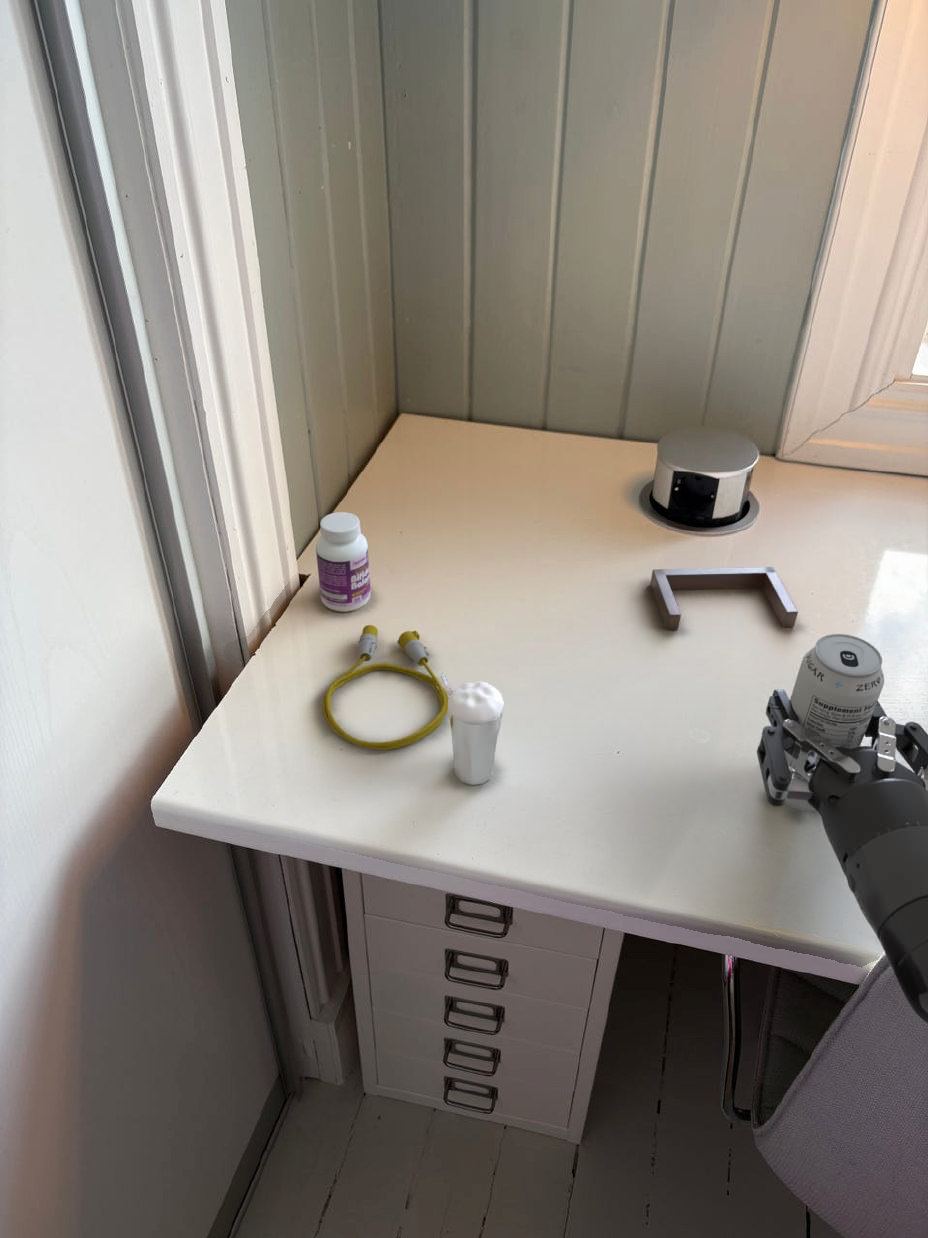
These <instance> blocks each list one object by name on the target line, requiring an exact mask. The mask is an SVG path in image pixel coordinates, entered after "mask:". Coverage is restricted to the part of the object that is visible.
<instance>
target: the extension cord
mask: <svg viewBox="0 0 928 1238" xmlns="http://www.w3.org/2000/svg"><path fill="white" fill-rule="evenodd" d="M378 633H379V630H378V628H377V627H376V626H375V625H373V624H368V625H365V626H364V627H363V628H362V631H361V635H360V636H359V639H358V653H359V655H358V656H359V661H358V662H357V663H355V665H352V667H351V668H349V669H348V670H347V671H346V672H345V673H343V674H342V676H340V677H338V678H337V679H335V680H334V681H333V682H332V683H331V684H330V685H329V688H328V689H327V691H326V692H325V693H324V696H323V699H322V711H323V715H324V718H325V720H326V722H327V724H328V725H329V727H330V728H331V729H332V730H333V731H334V732H335V734H337V735H339V736H340V737H341V738H342V739H344V740H346V741H348V742H350V743H351V744H354V745H356V746H358V747H362V748H363V747H364V748H367V749H373V750H382V751H383V750H394V749H400V748H402V747H405V746H408V745H411V744H413V743H415V742H418V741H419V740H421V739H423V738H425V737H426V736H428V735H430V734H432V733H433V732H434V731H436V730H437V729H438V728H439V727H440V725H441V724H442V722H443V719H444V718H445V716H446V715H447V714H448V713H449V710H448V699H449V694H448V692H447V690H446V688H444V687H443V685H442V684H441V683H440V681H439V680H438V678H437V677H436V674H435V673H434V672H433V671H432V669H431V668H430V666H429V664H428V663H429V657H430V654H429V652H428V651H427V650H426V649H427V647H426V646H424V645H423V643H422V642H421V641H420V637H421V635H420V634H419V632H418V631H417V630H412V631H411V630H406V631H404V632H402V633H401V634H400V635H399V637H398V640H397V642H396V643H397V644H398V646H399V647H400V648H401V651H403V653H404V654H406V655H407V657H409V658H410V659H411V660H412V661H413V662H415V664H417V666H419V667H424V669H426V671H427V673H428V674H429V675H427V674H426V673H424V672H422V671H418V670H415V669H414V668H413V669H412V668H409V667H404V666H401V665H396V664H391V663H380V662H379V663H373V664H369V665H365V666H363V667H361V665H362V664H363V663H364V662H370V661H371V660H372V656H373V654H374V653H375V651H376V650H377V645H378ZM359 667H361V668H359ZM378 670H379V671H380V670H383V671H385V670H386V671H392V672H396V673H397V672H398V673H402V674H405V675H407V676H411V677H413V678H416V679H419V680H420V681H423V682H425V683H427V684H428V685H430V686H431V688H433V690H434V691H435V692H436V695H437V697H438V699H439V700H438V701H439V706H440V708H439V713H438V714H437V715H436V716H435V718H433V720H431V721H430V722H429V723H428V724H427V725H425V726H424V727H422V728H421V729H419V730H418V731H416V732H414V733H411V734H409V735H407V736H405V737H402V738H398V739H394V740H390V741H389V740H388V741H382V742H377V741H365V740H360V739H358V738H355V737H353V736H351V734H348V733H347V732H346V731H345V730H343V728H342V727H341V726H340V725H339V724H338V723H337V721H336V720H335V718H334V716H333V714H332V695H333V694H334V692H335V691H336V690H337V689H338V688H340V687H341V686H343V685H344V684H345V683H347V682H349V681H352V680H353V679H355V678H358V677H360V676H363V675H365V674H368V673H370V672H374V671H378Z"/></svg>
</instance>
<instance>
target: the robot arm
mask: <svg viewBox="0 0 928 1238" xmlns="http://www.w3.org/2000/svg"><path fill="white" fill-rule="evenodd" d="M765 715H766V717H767V719H768V722H769V723H770V725H766V726H764V727H763V729H762V732H761V736H760V737H761V738H760V741H759V745H758V746H757V749H756V756H757V759H758V764H759V769H760V773H761V777H762V781H763V786H764V791H765V794H766V795H765V796H766V798H767V802H768V803H769V804H770V805H772V806H773V807H782V806H784V805H785V803H784V802H785V799H795V800H807V802H808V803H809V804H810V806H812V807H813V808H814V809H815V810H816V811H815V812H817V813H818V814H819V816H820V818H821V821H822V825H823V829H824V831H825V835H826V837H827V839H828V841H829V843H830V846H831V848H832V850H833V853H834V854H835V857H836V859H837V861H838V863H839V865H840V868H841V870H842V872H843V874H844V877H845V878H846V881H847V886H848V887H849V890H850V891H851V892H852V895H853V897H854V898H855V900H856V902H857V904H858V907H859V909H860V911H861V913H862V915H863V916H864V918H865V919H866V922H867V923H868V924H869V926H870V927H871V929H872V930H873V932H874V934H875V936H876V937H877V939H878V941H879V943H880V945H881V947H882V949H883V951H884V953H885V956H886V957H887V960H888V961H889V965H890V966H891V968H892V971H893V974H894V975H895V977H896V979H897V982H898V984H899V986H900V988H901V991H902V993H903V995H904V997H905V999H906V1000H907V1002H908V1004H909V1006H910V1007H911V1009H912V1010H913V1011H914V1013H915V1014H916V1015H917V1016H918V1018H920V1019H921V1020H922V1021H924V1022H925V1023H926V1024H928V733H927V732H926V730H925V729H924V728H923V727H922V726H921V725H920V724H919V723H918V722H916V721H907V722H905V724H900V723H897V722H896V721H895V720H894V719H893V718H892V717H889V716H888V715H887V713H886V711H885V710H884V708H883V707H882V705H881V704H880V702H879V700H878V701H877V704H876V706H875V709H874V711H873V714H872V717H871V719H870V722H869V724H868V727H867V730H866V732H865V735H864V737H865V738H871V739H870V742H869V743H870V745H860V747H856V748H852V749H850V748H844V747H833V746H832V745H831V744H830V743H829V742H827V741H826V740H825V739H824V738H823V737H821V736H820V735H818V734H816V735H812V734H811V733H809V732H808V731H807V730H806V729H805V728H803V727H802V726H801V725H800V724H799V723H798V717H797V715H796V712H795V711H794V709H793V707H792V704H791V702H790V698H789V696H788V694H787V692H786V690H785V689H774V690H773V692H772V695H769V698H768V702H767V705H766V708H765ZM795 741H796V742H797V743H798V744H799V745H800V747H801V748H800V747H799V746H798V745H796V744H795ZM896 750H897V752H898V753H899V755H900V756H901V757H902V758H903V760H904V761H905V763H906V764H907V765H908V766H909V768H910V769H909V768H908V767H906V766H905V765H903V764H902V763H900V762H898V761H897V760H896ZM817 755H818V756H820V759H819V761H818V763H817V765H816V763H815V761H816V758H817ZM786 756H787V757H788V758H789V759H790V760H791V761H792V762H793V763H794V764H795V768H796V770H797V772H798V773H799V774H800V775H801V776H803V777H804V778H805V779H806V780H807V781H808V782H809V783H807V782H804V781H802V780H800V779H799V778H798V776H797V774H796V773H795V768H793V767H788V763H787V759H786Z"/></svg>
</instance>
